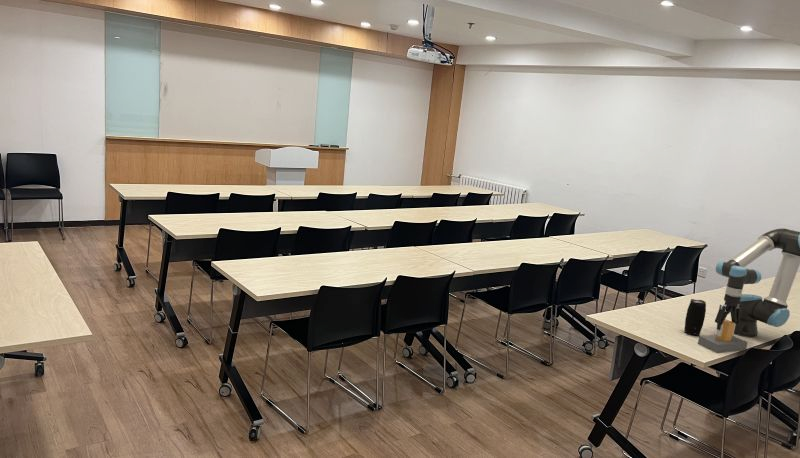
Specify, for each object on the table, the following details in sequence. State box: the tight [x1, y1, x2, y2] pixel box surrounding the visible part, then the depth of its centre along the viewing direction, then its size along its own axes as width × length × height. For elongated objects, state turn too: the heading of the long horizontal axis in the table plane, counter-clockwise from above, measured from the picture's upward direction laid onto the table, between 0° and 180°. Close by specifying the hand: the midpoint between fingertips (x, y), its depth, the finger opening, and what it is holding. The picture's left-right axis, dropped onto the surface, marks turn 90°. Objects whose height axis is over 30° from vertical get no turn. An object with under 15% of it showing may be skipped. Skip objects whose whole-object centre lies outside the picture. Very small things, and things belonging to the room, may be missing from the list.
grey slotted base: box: [697, 334, 748, 354], centre depth 319 cm, size 12×22×4 cm, turn 112°
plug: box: [715, 318, 735, 342], centre depth 318 cm, size 6×4×14 cm, turn 22°
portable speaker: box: [684, 298, 707, 337], centre depth 335 cm, size 9×9×20 cm
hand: (724, 334), depth 318 cm, fingers open, 9 cm apart
